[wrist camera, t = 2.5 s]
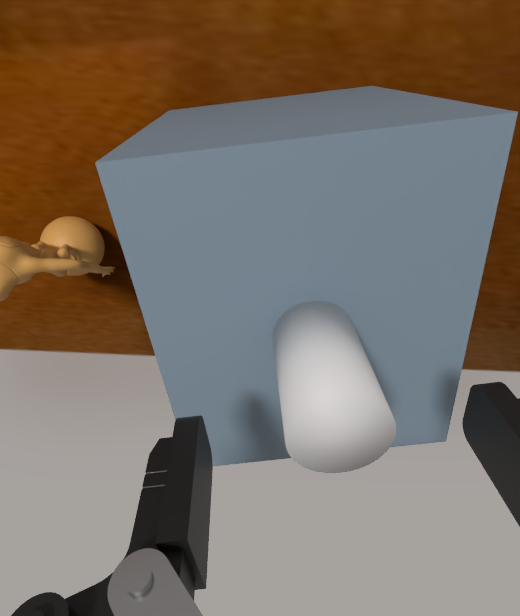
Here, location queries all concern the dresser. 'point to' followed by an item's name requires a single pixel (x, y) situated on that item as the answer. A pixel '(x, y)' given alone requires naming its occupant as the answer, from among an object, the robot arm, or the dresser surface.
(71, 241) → the figurine
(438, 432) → the block with white knob
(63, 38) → the dresser surface
